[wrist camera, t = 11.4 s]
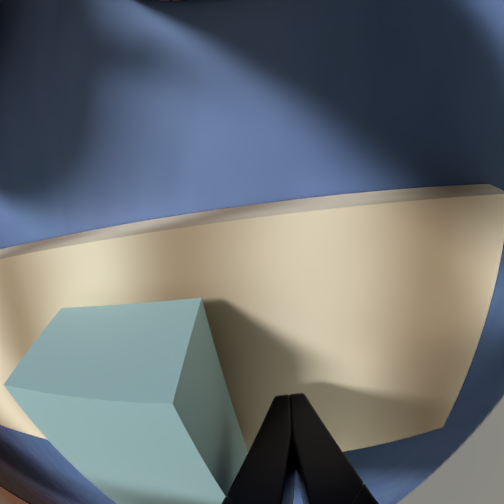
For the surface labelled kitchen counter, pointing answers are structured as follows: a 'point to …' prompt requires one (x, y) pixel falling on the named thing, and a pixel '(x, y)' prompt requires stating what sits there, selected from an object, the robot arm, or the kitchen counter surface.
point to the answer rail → (293, 299)
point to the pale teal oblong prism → (135, 401)
